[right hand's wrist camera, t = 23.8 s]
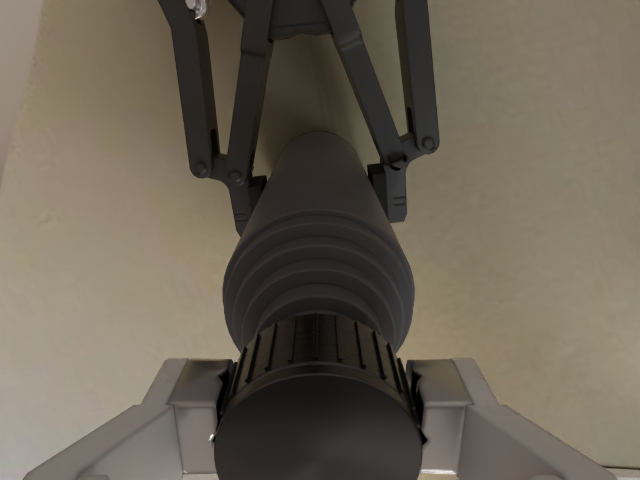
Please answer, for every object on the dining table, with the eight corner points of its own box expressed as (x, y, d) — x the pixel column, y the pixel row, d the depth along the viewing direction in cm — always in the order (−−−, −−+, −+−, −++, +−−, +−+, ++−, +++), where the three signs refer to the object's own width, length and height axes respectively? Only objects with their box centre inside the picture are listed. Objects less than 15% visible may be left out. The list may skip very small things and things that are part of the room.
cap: (414, 311, 10) (439, 374, 8) (397, 454, 11) (414, 538, 9) (227, 307, 10) (203, 368, 8) (234, 451, 11) (216, 534, 9)
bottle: (261, 151, 31) (103, 366, 8) (343, 117, 30) (416, 249, 7) (296, 228, 33) (246, 571, 10) (374, 197, 32) (506, 496, 9)
